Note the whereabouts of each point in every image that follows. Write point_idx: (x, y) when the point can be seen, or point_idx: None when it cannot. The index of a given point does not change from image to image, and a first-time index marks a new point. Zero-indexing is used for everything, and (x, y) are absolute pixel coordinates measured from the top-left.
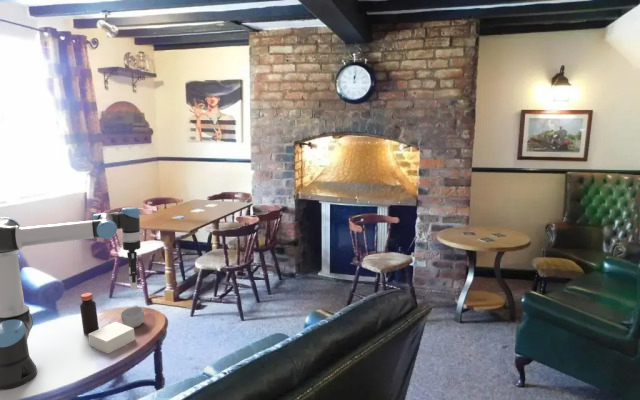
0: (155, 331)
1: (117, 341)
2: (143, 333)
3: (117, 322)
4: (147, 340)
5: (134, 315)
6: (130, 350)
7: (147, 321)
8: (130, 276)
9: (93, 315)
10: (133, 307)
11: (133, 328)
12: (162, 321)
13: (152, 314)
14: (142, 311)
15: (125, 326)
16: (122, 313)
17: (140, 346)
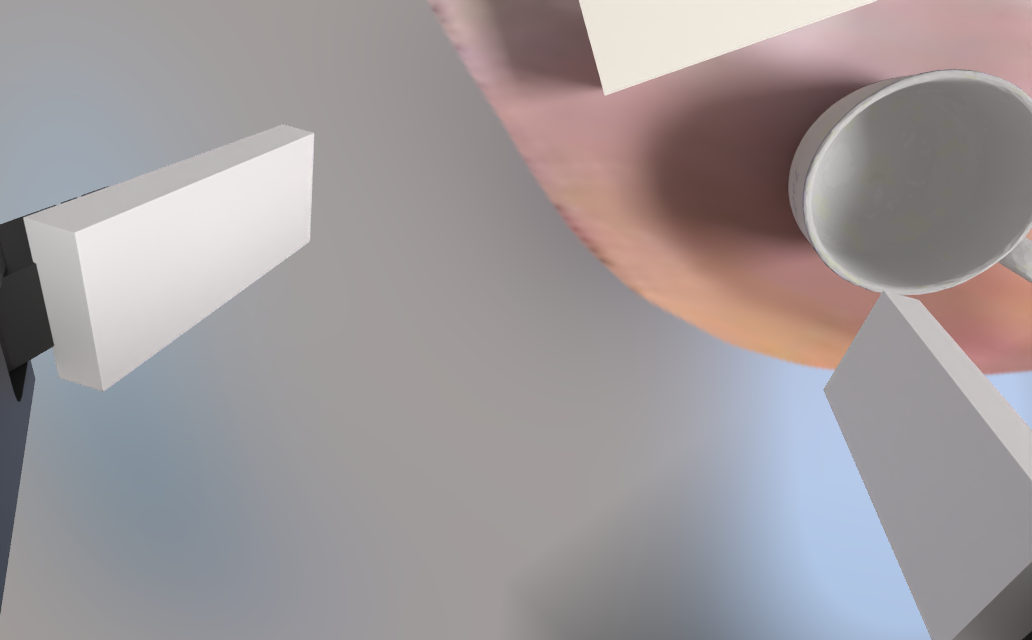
0: (628, 249)
1: None
2: (665, 173)
3: (859, 1)
4: (540, 157)
5: (806, 177)
6: (479, 7)
7: None
8: (45, 213)
9: None
10: (1014, 236)
11: (604, 92)
12: (740, 344)
13: None
14: (827, 264)
15: (699, 43)
16: (1014, 106)
17: (489, 87)
